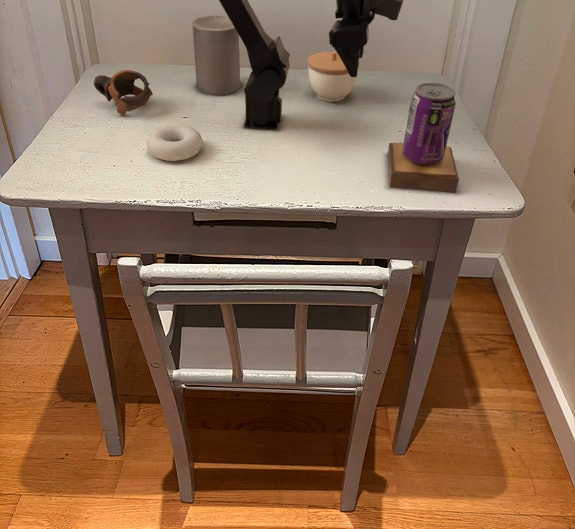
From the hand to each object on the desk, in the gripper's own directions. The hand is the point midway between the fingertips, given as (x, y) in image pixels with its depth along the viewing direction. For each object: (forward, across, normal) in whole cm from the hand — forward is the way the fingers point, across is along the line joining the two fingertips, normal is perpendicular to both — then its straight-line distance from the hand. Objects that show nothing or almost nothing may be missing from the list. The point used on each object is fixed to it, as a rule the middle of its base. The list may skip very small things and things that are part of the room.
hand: (356, 67), depth 104 cm
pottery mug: (+5, -2, +48) cm, 48 cm away
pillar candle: (+8, +13, +32) cm, 36 cm away
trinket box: (+12, +14, +8) cm, 20 cm away
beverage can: (+11, -14, -12) cm, 22 cm away
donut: (+7, -17, +32) cm, 37 cm away
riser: (+14, -15, -12) cm, 23 cm away
